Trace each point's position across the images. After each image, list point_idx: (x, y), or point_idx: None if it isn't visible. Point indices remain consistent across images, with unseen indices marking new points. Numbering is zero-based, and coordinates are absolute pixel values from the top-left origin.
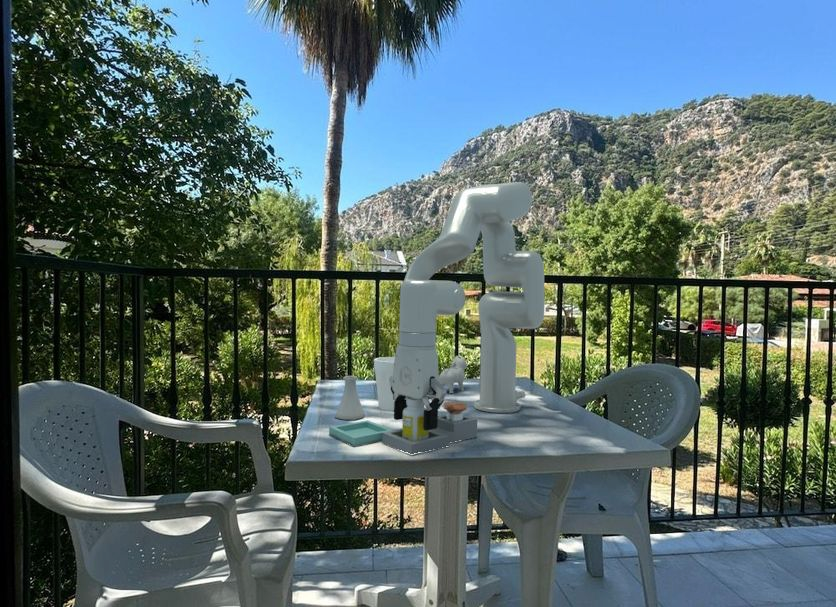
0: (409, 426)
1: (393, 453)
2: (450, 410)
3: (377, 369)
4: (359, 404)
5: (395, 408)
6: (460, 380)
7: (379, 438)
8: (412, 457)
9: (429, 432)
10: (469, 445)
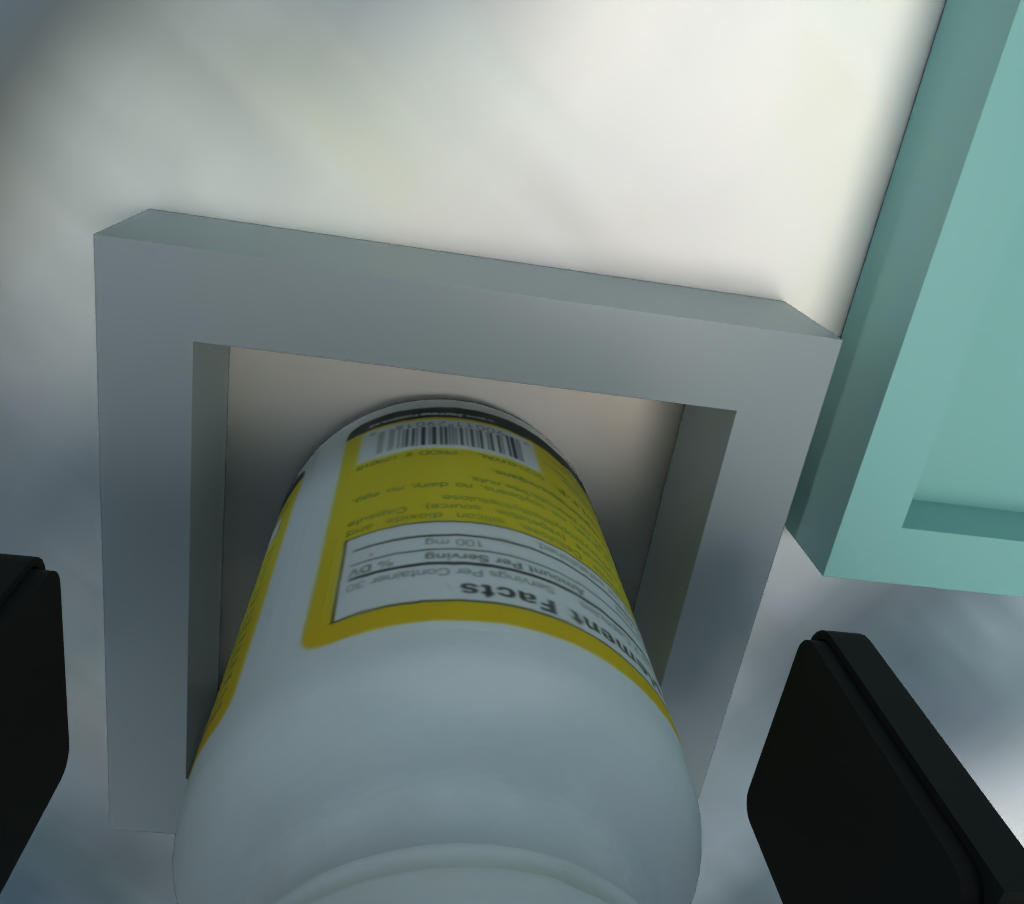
0: (374, 529)
1: (381, 107)
2: None
3: None
4: None
5: (915, 759)
6: None
7: (865, 332)
8: (91, 176)
9: None
10: (66, 891)
